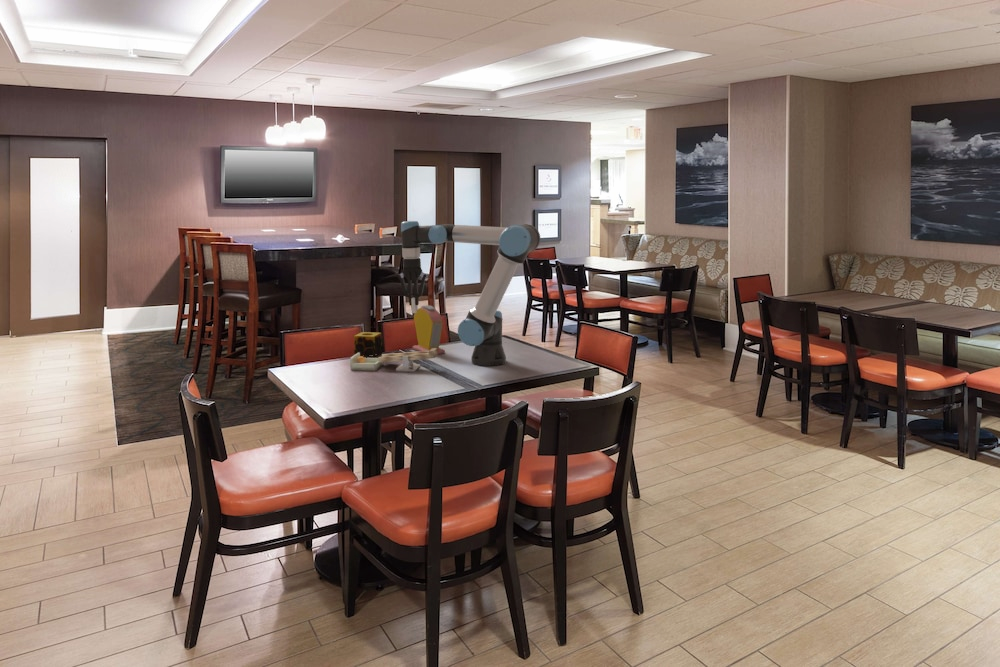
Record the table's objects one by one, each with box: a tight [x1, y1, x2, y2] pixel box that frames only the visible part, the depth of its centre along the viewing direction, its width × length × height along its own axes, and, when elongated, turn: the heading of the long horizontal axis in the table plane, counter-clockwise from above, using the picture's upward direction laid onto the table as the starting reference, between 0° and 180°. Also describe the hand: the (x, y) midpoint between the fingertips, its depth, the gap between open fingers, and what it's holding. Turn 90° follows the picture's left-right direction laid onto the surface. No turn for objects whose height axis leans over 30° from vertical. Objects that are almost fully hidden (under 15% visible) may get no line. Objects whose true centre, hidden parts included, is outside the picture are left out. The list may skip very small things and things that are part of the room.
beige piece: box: [377, 348, 438, 363], centre depth 317 cm, size 25×13×4 cm, turn 82°
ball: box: [357, 356, 365, 363], centre depth 317 cm, size 4×4×4 cm
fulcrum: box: [395, 356, 421, 373], centre depth 314 cm, size 8×10×6 cm
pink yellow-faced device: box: [411, 305, 446, 356], centre depth 346 cm, size 22×9×22 cm, turn 30°
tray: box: [349, 353, 384, 371], centre depth 317 cm, size 11×11×5 cm
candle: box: [353, 331, 384, 358], centre depth 339 cm, size 10×10×10 cm
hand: (414, 312), depth 321 cm, fingers closed
